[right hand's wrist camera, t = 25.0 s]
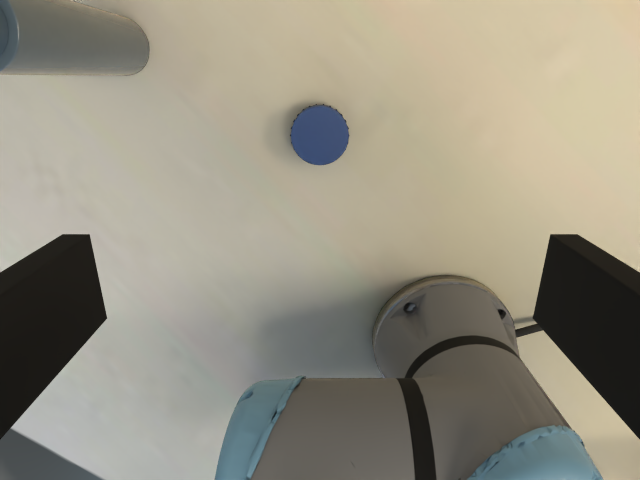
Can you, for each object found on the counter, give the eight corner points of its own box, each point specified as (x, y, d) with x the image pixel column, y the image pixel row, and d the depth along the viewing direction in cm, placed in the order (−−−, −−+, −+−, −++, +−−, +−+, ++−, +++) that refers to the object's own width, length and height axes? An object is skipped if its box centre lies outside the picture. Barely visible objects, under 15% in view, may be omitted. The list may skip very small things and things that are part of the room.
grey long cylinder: (155, 30, 37) (0, -14, 19) (142, 84, 38) (-13, 90, 21) (101, 6, 36) (-114, -63, 18) (89, 62, 38) (-118, 49, 20)
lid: (281, 121, 40) (279, 123, 38) (332, 93, 39) (333, 94, 37) (308, 171, 41) (307, 175, 39) (357, 145, 40) (359, 149, 38)
